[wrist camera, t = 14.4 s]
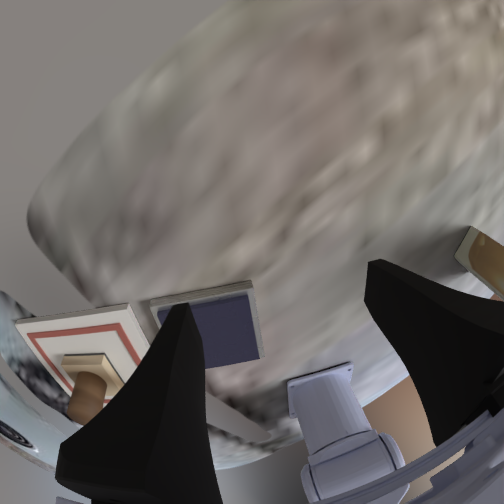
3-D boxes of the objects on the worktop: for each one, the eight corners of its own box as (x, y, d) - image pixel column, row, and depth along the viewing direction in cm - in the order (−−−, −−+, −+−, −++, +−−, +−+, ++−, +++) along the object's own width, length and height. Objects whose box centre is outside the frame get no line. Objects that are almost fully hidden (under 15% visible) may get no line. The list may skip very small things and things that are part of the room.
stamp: (125, 384, 24) (118, 433, 18) (87, 384, 23) (76, 429, 18) (104, 352, 21) (91, 405, 16) (64, 354, 21) (47, 401, 15)
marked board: (180, 397, 27) (180, 405, 26) (81, 401, 26) (79, 407, 25) (128, 303, 20) (126, 310, 19) (17, 319, 19) (13, 325, 18)
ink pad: (262, 349, 25) (265, 360, 23) (180, 363, 24) (180, 375, 23) (251, 280, 21) (254, 291, 20) (151, 299, 20) (148, 311, 19)
